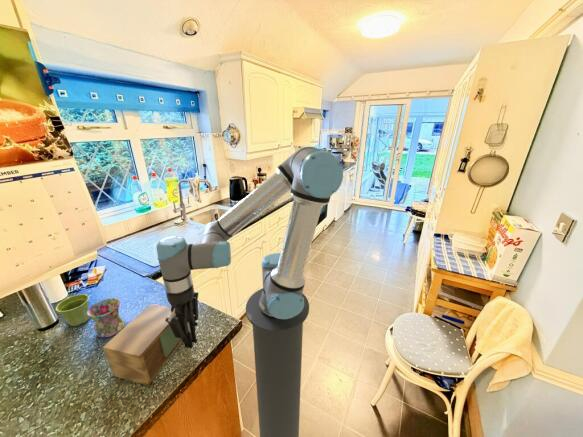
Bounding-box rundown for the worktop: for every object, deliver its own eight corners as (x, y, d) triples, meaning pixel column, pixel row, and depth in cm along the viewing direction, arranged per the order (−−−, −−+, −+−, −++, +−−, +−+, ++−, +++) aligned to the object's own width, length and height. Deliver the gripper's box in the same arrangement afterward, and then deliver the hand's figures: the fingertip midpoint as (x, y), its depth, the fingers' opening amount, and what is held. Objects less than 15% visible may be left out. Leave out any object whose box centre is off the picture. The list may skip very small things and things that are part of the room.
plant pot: (56, 330, 86) (47, 311, 82) (77, 311, 94) (70, 294, 91) (82, 329, 86) (75, 311, 83) (101, 311, 95) (95, 293, 92)
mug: (103, 322, 89) (94, 300, 85) (130, 318, 92) (123, 296, 88) (86, 349, 79) (76, 325, 75) (118, 343, 81) (109, 320, 77)
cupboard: (187, 335, 84) (181, 309, 80) (148, 385, 68) (139, 356, 63) (157, 329, 87) (151, 303, 82) (113, 376, 70) (102, 347, 66)
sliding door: (195, 341, 80) (191, 319, 77) (182, 361, 74) (176, 338, 70) (179, 338, 82) (174, 316, 78) (164, 357, 75) (158, 334, 71)
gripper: (183, 271, 77) (193, 325, 86) (150, 300, 64) (166, 361, 73) (204, 274, 76) (212, 329, 85) (174, 305, 63) (187, 366, 71)
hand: (190, 344), depth 79 cm, fingers closed on sliding door, 1 cm apart
